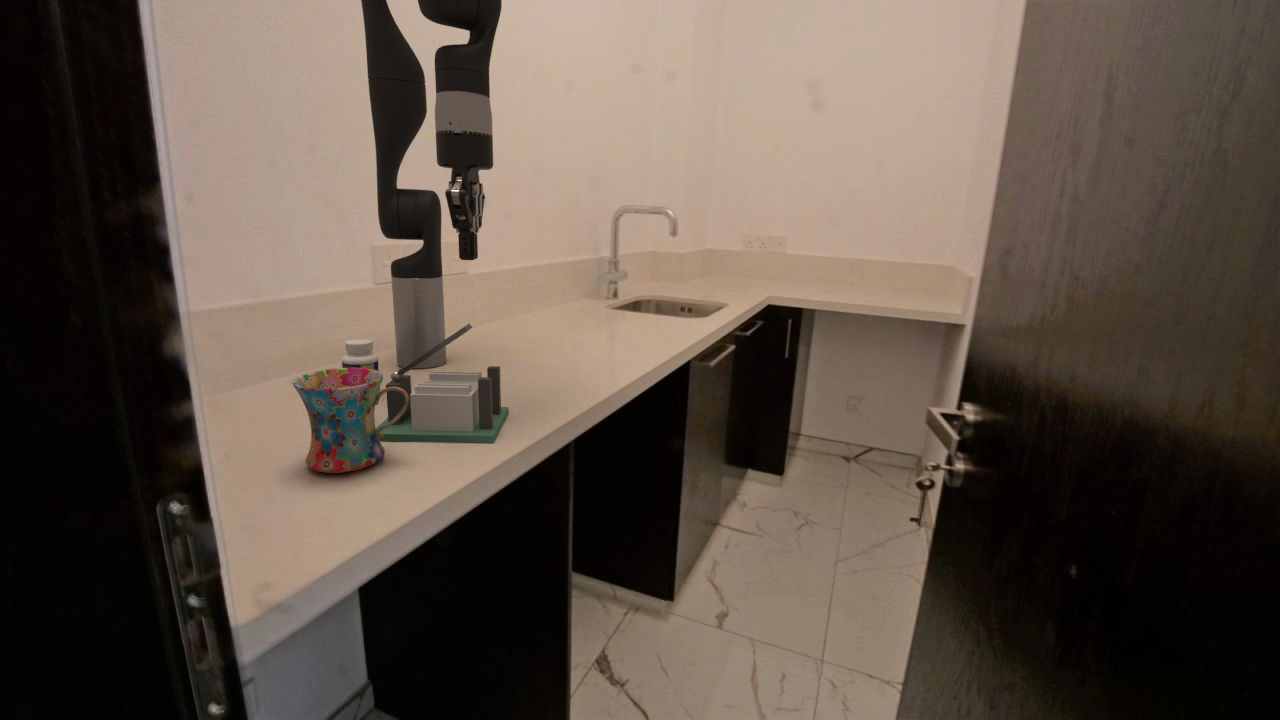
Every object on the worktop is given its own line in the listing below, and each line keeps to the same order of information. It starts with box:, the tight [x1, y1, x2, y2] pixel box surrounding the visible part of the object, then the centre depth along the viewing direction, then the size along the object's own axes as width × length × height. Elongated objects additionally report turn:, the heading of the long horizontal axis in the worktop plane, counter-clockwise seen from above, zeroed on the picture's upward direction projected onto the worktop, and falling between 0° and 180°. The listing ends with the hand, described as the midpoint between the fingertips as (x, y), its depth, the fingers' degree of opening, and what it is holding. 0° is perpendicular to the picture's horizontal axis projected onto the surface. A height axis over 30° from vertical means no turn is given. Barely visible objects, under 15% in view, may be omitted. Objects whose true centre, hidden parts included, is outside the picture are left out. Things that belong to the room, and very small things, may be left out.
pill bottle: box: [341, 338, 381, 396], centre depth 95 cm, size 5×5×9 cm
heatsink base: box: [375, 365, 510, 444], centre depth 82 cm, size 12×16×8 cm
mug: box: [292, 367, 409, 474], centre depth 69 cm, size 12×9×11 cm
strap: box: [390, 323, 473, 381], centre depth 80 cm, size 3×12×1 cm
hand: (468, 259), depth 84 cm, fingers closed
